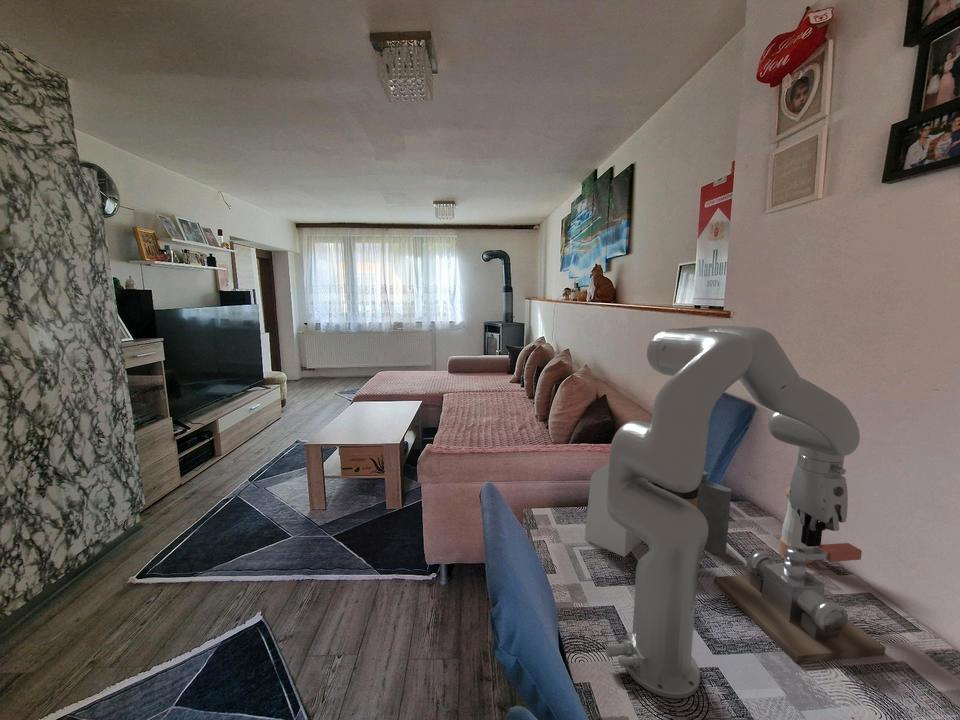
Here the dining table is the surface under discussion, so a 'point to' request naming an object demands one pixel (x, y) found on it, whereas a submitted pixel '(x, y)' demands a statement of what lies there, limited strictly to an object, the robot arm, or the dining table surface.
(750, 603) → the walnut board
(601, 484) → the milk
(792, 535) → the salt shaker
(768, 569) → the valve body
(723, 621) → the dining table surface
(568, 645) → the dining table surface
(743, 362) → the robot arm
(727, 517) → the hip flask
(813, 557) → the lever
